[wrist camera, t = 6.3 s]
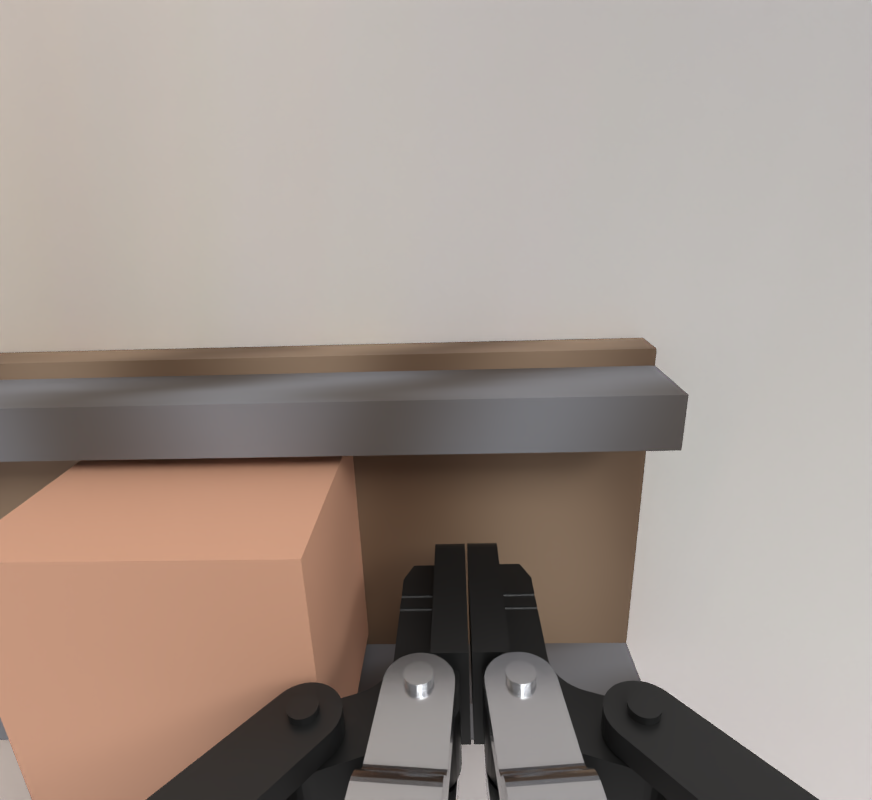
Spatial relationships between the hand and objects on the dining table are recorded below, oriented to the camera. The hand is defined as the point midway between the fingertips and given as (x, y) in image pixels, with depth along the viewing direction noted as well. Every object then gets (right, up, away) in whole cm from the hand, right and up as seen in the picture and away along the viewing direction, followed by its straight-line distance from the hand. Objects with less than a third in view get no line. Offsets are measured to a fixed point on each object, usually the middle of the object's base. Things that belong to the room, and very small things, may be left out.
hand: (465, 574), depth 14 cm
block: (-6, 0, +1) cm, 6 cm away
